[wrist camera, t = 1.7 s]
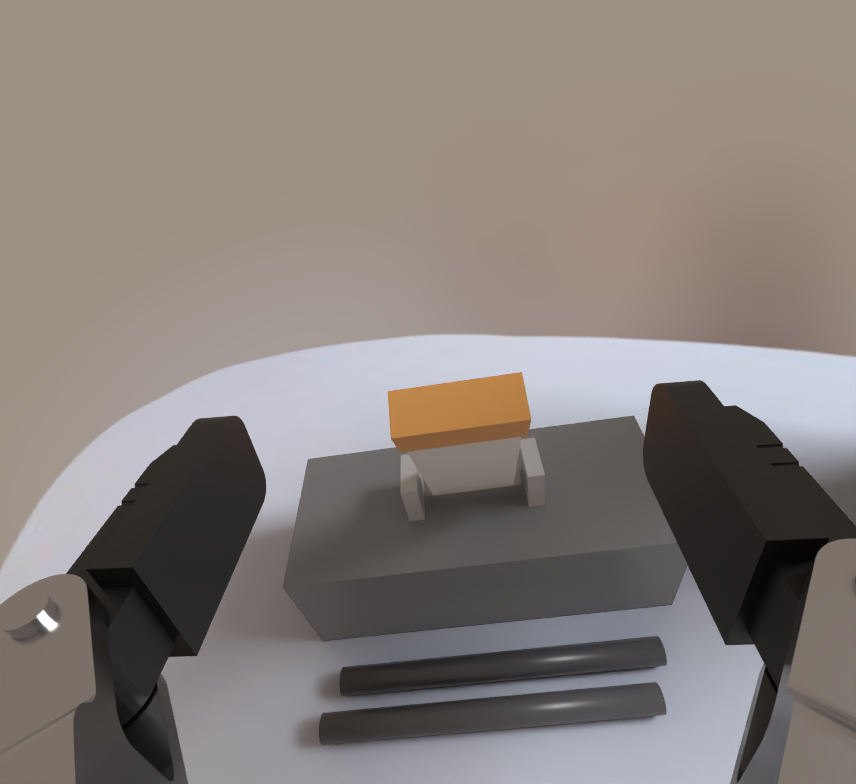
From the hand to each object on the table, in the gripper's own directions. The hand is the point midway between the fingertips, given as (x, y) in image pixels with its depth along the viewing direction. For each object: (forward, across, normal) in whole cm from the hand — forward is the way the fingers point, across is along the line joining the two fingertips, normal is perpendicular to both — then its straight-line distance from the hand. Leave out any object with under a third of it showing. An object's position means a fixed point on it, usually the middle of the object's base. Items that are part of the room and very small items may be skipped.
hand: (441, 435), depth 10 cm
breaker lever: (+15, 0, +16) cm, 22 cm away
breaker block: (+14, 0, +26) cm, 29 cm away
